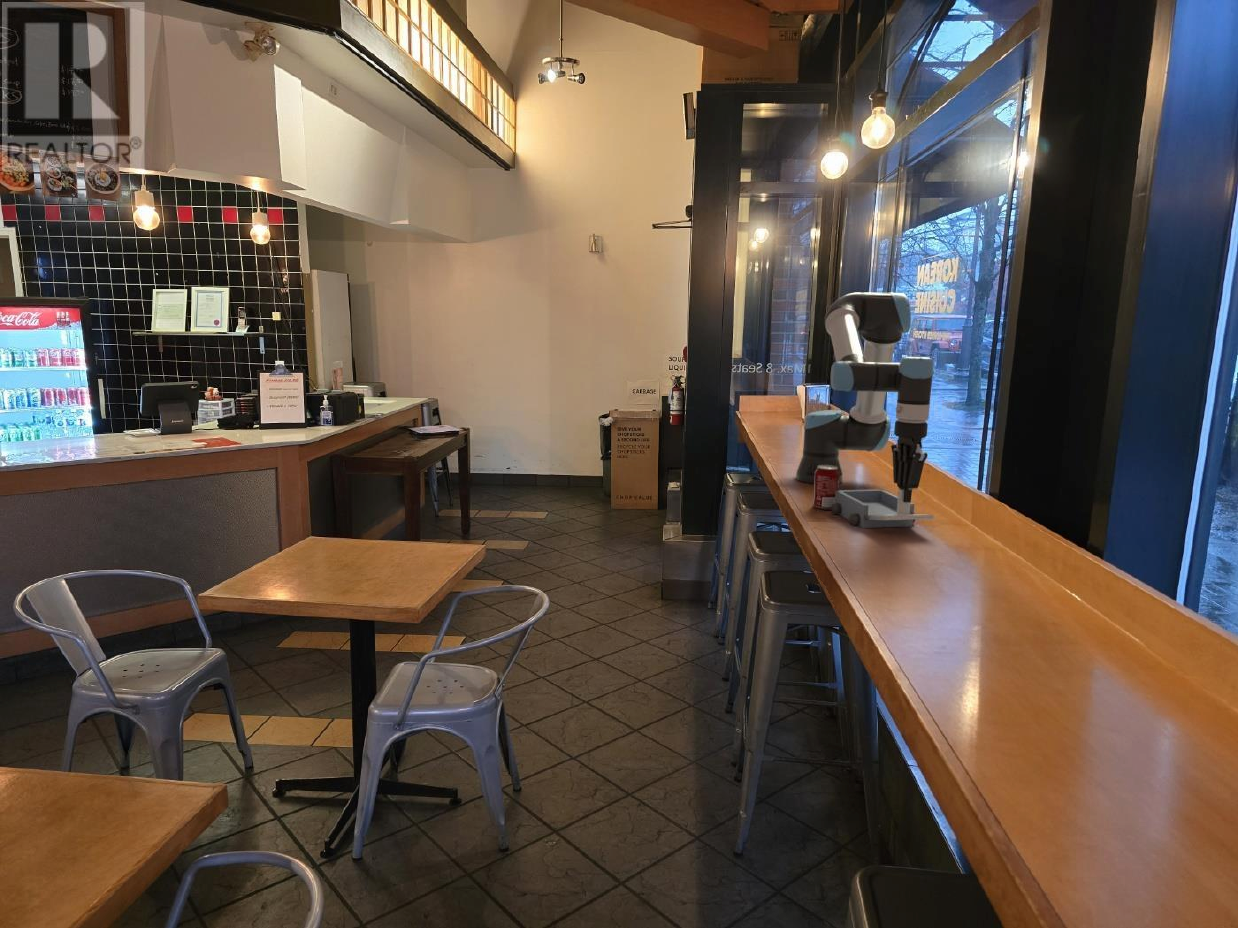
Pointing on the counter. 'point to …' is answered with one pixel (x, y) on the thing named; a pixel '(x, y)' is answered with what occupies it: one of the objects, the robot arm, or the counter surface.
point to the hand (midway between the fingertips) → (902, 513)
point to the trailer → (868, 507)
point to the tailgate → (898, 517)
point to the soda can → (825, 486)
